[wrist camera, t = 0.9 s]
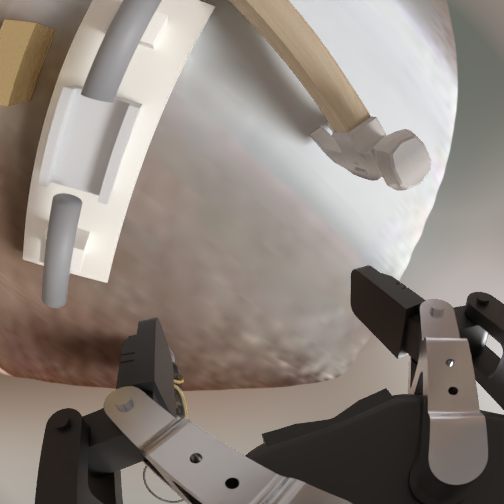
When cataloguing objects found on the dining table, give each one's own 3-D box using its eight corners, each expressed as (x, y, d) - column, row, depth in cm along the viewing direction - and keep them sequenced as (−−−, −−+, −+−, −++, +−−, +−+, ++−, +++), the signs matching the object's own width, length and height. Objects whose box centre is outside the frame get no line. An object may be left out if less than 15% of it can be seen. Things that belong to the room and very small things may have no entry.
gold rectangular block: (4, 93, 22) (-23, 100, 17) (28, 25, 18) (4, 19, 14) (31, 99, 23) (7, 106, 18) (56, 30, 20) (36, 23, 15)
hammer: (174, -88, 11) (403, 201, 22) (225, -108, 10) (440, 170, 22) (184, -15, 25) (331, 171, 37) (217, -33, 25) (359, 151, 36)
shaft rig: (26, 253, 32) (4, 294, 25) (109, -22, 19) (94, -49, 12) (108, 275, 37) (101, 321, 30) (213, 9, 24) (229, -11, 17)
